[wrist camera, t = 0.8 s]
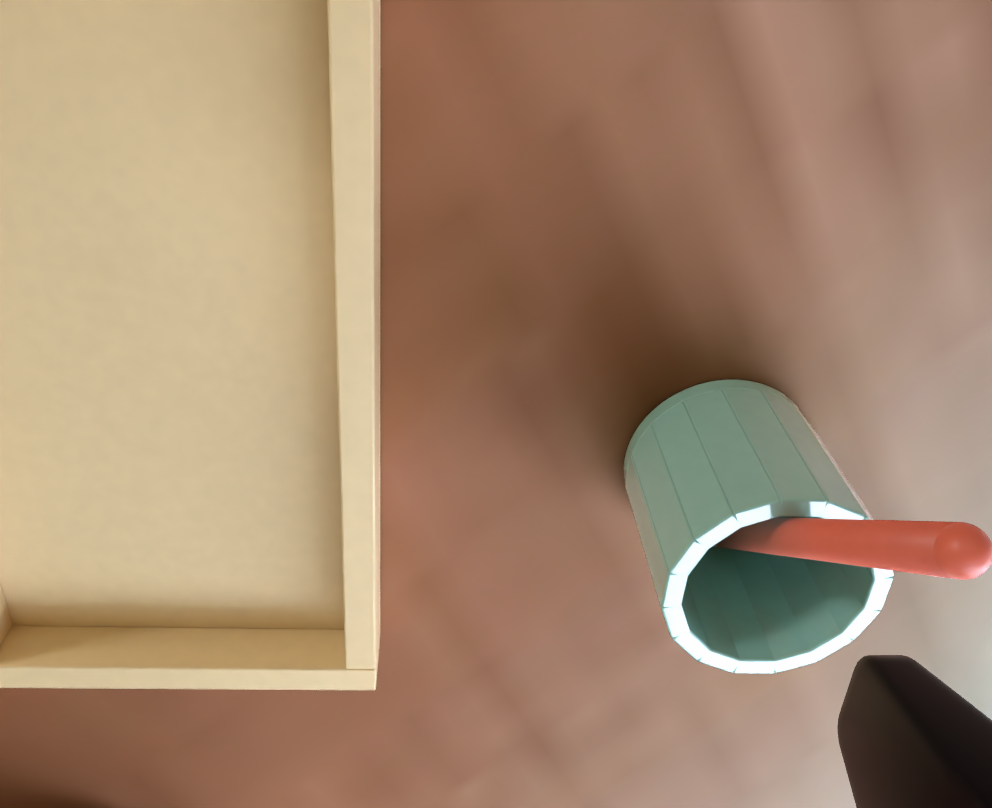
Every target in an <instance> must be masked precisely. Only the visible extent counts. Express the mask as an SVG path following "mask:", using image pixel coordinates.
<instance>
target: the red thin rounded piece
mask: <svg viewBox="0 0 992 808" xmlns="http://www.w3.org/2000/svg"><path fill="white" fill-rule="evenodd" d="M713 547H720V548H728V549H735V550H743V551H750V552H758V553H765V554H773V555H780V556H788V557H795V558H802V559H810V560H817V561H825V562H832V563H840V564H847V565H855V566H862V567H870V568H877V569H885V570H892V571H900V572H907V573H915V574H922V575H930V576H937V577H945V578H952V579H960V580H966V579H973V578H976V577H978V576H980V575H982V574H983V573H984V572H986V571H987V569H988V568H989V567H990V565H991V563H992V543H991V541H990V539H989V537H988V536H987V535H986V533H985V532H984V531H982V530H981V529H980V528H978V527H976V526H974V525H972V524H969V523H964V522H934V521H897V520H859V519H821V518H783V517H776V518H773V519H769V520H766V521H762V522H759V523H756V524H752V525H749V526H745V527H742V528H740V529H738V530H737V531H735V532H734V533H732V534H731V535H729V536H728V537H726V538H725V539H723V540H722V541H720V542H719V543H717V544H716V545H714V546H713Z"/></svg>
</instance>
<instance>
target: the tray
mask: <svg viewBox="0 0 992 808" xmlns="http://www.w3.org/2000/svg"><path fill="white" fill-rule="evenodd" d="M379 643H380V0H0V688H103V689H253V690H375V688H376V679H377V667H378V655H379Z"/></svg>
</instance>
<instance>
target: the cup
mask: <svg viewBox="0 0 992 808" xmlns="http://www.w3.org/2000/svg"><path fill="white" fill-rule="evenodd" d="M624 481H625V485H626V491H627V494H628V498H629V501H630V504H631V508H632V511H633V515H634V518H635V521H636V525H637V528H638V532H639V535H640V539H641V542H642V545H643V549H644V552H645V556H646V559H647V562H648V566H649V569H650V573H651V576H652V580H653V583H654V586H655V590H656V593H657V597H658V600H659V603H660V607H661V610H662V613H663V616H664V619H665V622H666V625H667V628H668V631H669V634H670V636H671V637H672V639H673V640H674V641H675V642H676V643H677V644H678V645H680V646H681V647H682V648H683V649H684V650H685V651H686V652H687V653H688V654H689V655H691V656H692V657H693V658H694V659H695V660H697V661H698V662H701V663H704V664H707V665H710V666H713V667H715V668H718V669H721V670H724V671H727V672H730V673H732V672H733V673H754V674H773V673H774V672H775V673H779V672H783V671H786V670H790V669H794V668H797V667H801V666H805V665H809V664H812V663H815V662H816V661H820V660H821V659H823V658H825V657H827V656H828V655H830V654H832V653H833V652H835V651H837V650H839V649H840V648H842V647H844V646H845V645H847V644H849V643H851V642H852V641H853V640H854V639H856V638H857V637H858V636H859V634H860V633H861V632H862V631H863V630H864V629H865V628H866V627H867V626H868V625H869V624H870V622H871V621H872V620H873V619H874V618H875V617H876V616H877V615H878V614H879V613H880V610H881V609H882V607H883V605H884V602H885V599H886V597H887V594H888V591H889V589H890V586H891V583H892V581H893V575H894V573H893V571H892V570H885V569H877V568H870V567H862V566H855V565H847V564H840V563H832V562H825V561H817V560H810V559H802V558H795V557H788V556H780V555H773V554H765V553H758V552H750V551H743V550H735V549H728V548H720V547H713V546H714V545H716V544H717V543H719V542H720V541H722V540H723V539H725V538H726V537H728V536H729V535H731V534H732V533H734V532H735V531H737V530H738V529H740V528H742V527H745V526H749V525H752V524H756V523H759V522H762V521H766V520H769V519H773V518H776V517H783V518H821V519H859V520H874V519H873V517H872V516H871V514H870V513H869V511H868V510H867V508H866V507H865V505H864V504H863V502H862V501H861V499H860V498H859V496H858V495H857V493H856V492H855V490H854V489H853V487H852V486H851V484H850V482H849V481H848V479H847V478H846V476H845V475H844V473H843V472H842V470H841V469H840V467H839V466H838V464H837V463H836V461H835V460H834V458H833V457H832V455H831V454H830V452H829V451H828V449H827V448H826V446H825V445H824V443H823V441H822V440H821V438H820V437H819V435H818V434H817V432H816V431H815V429H814V428H813V427H812V425H811V424H810V423H809V422H808V421H807V419H806V418H805V416H804V415H803V413H802V412H801V411H800V409H799V408H798V406H797V405H796V404H795V403H794V402H793V401H792V400H791V399H789V398H788V397H787V396H785V395H784V394H783V393H781V392H779V391H777V390H776V389H774V388H772V387H769V386H766V385H764V384H761V383H757V382H752V381H748V380H737V379H731V380H717V381H710V382H706V383H702V384H698V385H695V386H692V387H690V388H687V389H685V390H683V391H681V392H679V393H677V394H675V395H673V396H671V397H670V398H668V399H667V400H665V401H663V402H662V403H661V404H660V405H658V406H657V407H656V408H655V409H653V410H652V411H651V412H650V413H649V414H648V416H647V417H646V418H645V419H644V420H643V421H642V422H641V424H640V425H639V426H638V428H637V429H636V431H635V433H634V435H633V436H632V438H631V440H630V443H629V445H628V448H627V451H626V455H625V459H624Z"/></svg>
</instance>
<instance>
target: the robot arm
mask: <svg viewBox="0 0 992 808" xmlns="http://www.w3.org/2000/svg"><path fill="white" fill-rule="evenodd" d="M838 738H839V744H840V748H841V752H842V755H843V759H844V763H845V766H846V770H847V774H848V777H849V781H850V785H851V788H852V792H853V796H854V799H855V803H856V807H857V808H992V720H991V719H989V718H988V717H987V716H986V715H984V714H983V713H982V712H980V711H979V710H978V709H977V708H975V707H974V706H973V705H971V704H970V703H969V702H968V701H966V700H965V699H964V698H963V697H961V696H960V695H959V694H957V693H956V692H955V691H954V690H952V689H951V688H950V687H948V686H947V685H946V684H945V683H943V682H942V681H941V680H939V679H938V678H937V677H936V676H934V675H933V674H932V673H930V672H929V671H928V670H927V669H925V668H924V667H923V666H922V665H920V664H919V663H918V662H916V661H915V660H913V659H911V658H909V657H907V656H902V655H869V656H865V657H863V658H861V659H860V660H859V661H858V662H857V665H856V667H855V669H854V672H853V675H852V678H851V681H850V684H849V687H848V690H847V693H846V696H845V699H844V702H843V705H842V708H841V711H840V714H839V719H838Z"/></svg>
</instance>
